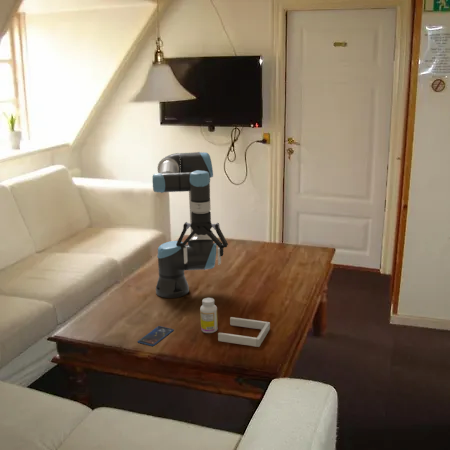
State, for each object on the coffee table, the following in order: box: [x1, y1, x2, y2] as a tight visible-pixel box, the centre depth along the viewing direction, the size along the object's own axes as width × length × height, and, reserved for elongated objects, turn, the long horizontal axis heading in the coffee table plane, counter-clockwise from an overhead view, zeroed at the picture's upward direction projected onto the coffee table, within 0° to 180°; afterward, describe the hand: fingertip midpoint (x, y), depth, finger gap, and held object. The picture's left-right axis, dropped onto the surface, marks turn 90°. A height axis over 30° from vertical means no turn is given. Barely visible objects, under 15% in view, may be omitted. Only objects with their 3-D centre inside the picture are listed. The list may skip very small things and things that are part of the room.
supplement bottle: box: [199, 297, 219, 334], centre depth 228 cm, size 7×7×13 cm
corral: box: [217, 316, 271, 348], centre depth 225 cm, size 16×15×3 cm
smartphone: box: [136, 325, 175, 347], centre depth 226 cm, size 8×1×15 cm
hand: (202, 263), depth 230 cm, fingers open, 13 cm apart
